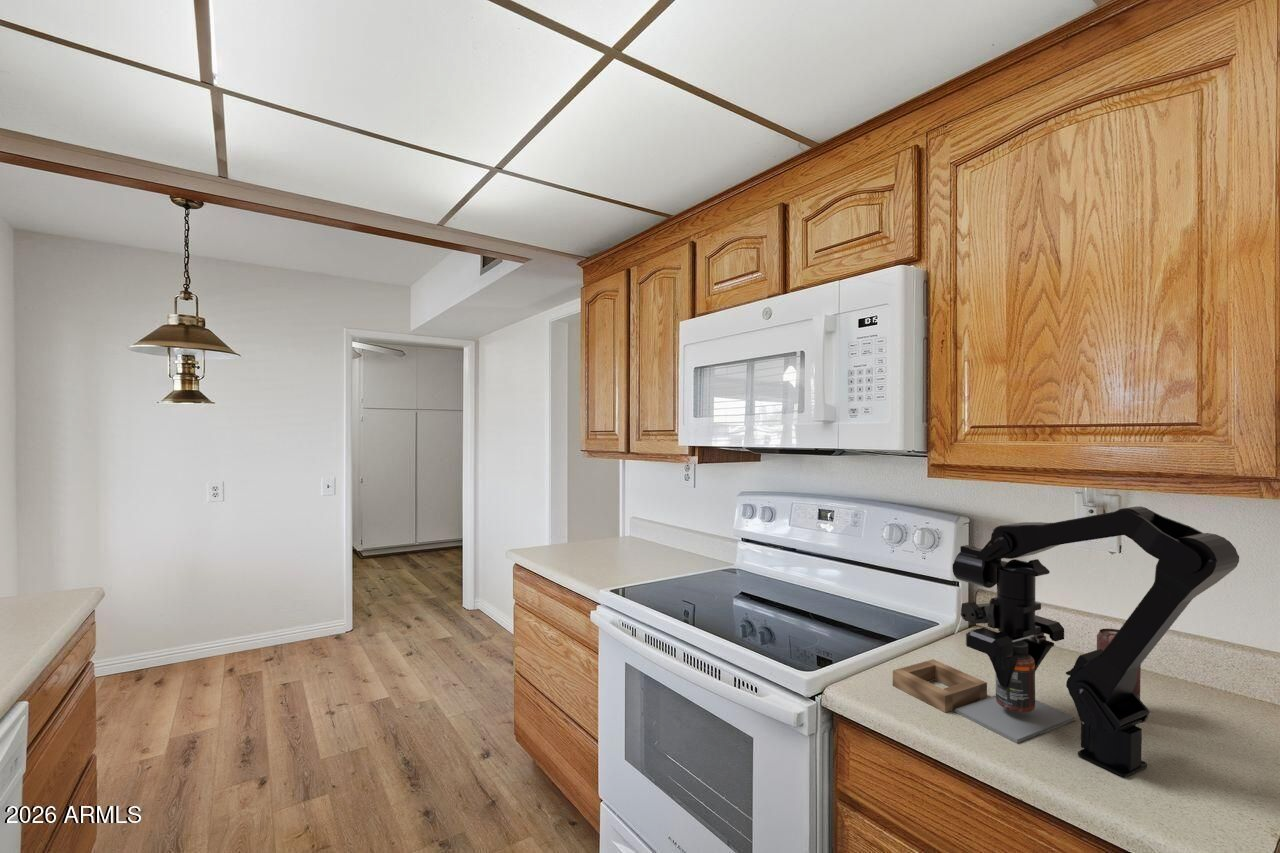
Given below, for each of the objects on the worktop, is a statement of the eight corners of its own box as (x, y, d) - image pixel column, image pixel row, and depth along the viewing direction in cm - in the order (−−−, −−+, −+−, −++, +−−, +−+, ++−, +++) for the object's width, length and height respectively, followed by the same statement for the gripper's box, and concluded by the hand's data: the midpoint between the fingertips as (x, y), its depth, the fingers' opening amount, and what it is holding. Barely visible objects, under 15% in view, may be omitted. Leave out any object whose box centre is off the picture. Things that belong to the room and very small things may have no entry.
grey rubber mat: (1075, 720, 103) (1075, 716, 103) (1016, 743, 96) (1016, 739, 96) (1012, 692, 113) (1012, 689, 113) (955, 712, 106) (955, 708, 106)
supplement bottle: (1023, 697, 107) (1024, 635, 107) (1042, 714, 101) (1043, 649, 101) (988, 696, 108) (989, 635, 108) (1005, 713, 102) (1006, 648, 102)
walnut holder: (986, 698, 111) (987, 682, 111) (944, 712, 106) (945, 695, 106) (933, 673, 122) (933, 659, 122) (892, 685, 117) (892, 670, 117)
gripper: (1004, 576, 115) (1004, 656, 116) (938, 590, 107) (938, 675, 108) (1066, 592, 105) (1065, 679, 106) (998, 608, 97) (997, 702, 98)
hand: (1015, 683), depth 105 cm, fingers closed on supplement bottle, 6 cm apart
